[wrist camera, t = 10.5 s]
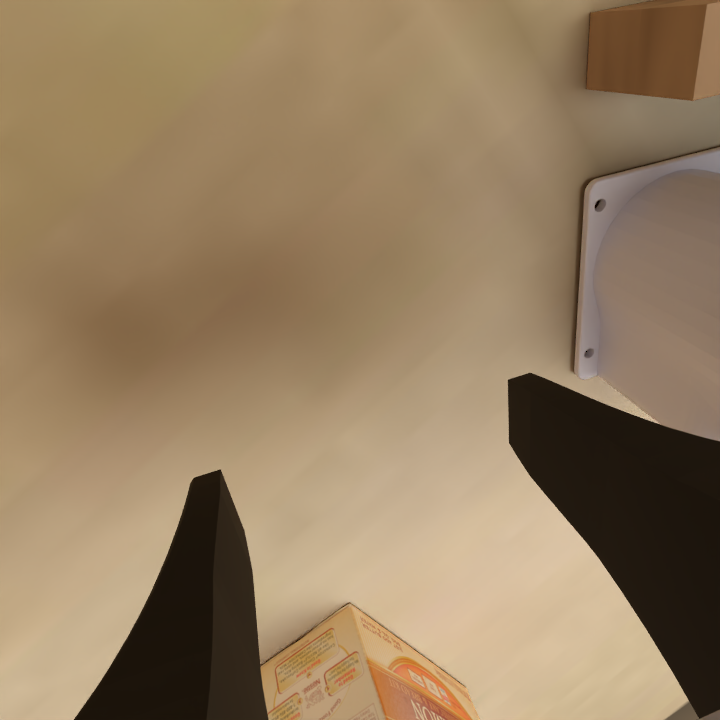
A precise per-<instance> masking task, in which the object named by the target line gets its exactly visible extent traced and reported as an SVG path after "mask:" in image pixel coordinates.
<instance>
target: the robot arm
mask: <svg viewBox="0 0 720 720" xmlns="http://www.w3.org/2000/svg"><path fill="white" fill-rule="evenodd" d="M598 200H600V202H599V205H598V206H597V208H594V206H595V203H596V202H597V201H598ZM587 350H588V351H587ZM586 351H587V352H586ZM585 352H586V353H585ZM574 373H575V375H576V376H577V377H579V378H580V379H582V380H585V379H589V378H592V377H595V376H599V377H600V378H602V379H603V380H604V381H605V382H607V383H608V384H609V385H611V386H612V387H613V388H614V389H616V390H617V391H618V392H620V393H621V394H622V395H623V396H625V397H626V398H627V399H629V400H630V401H631V402H633V403H634V404H635V405H636V406H638V407H639V408H640V409H642V410H643V411H644V412H645V413H647V414H648V415H649V416H651V417H652V418H653V419H654V420H656V421H657V422H658V423H660V424H661V425H660V424H657V423H654V422H651V421H648V420H645V419H643V418H640V417H637V416H634V415H631V414H629V413H626V412H624V411H621V410H618V409H616V408H613V407H611V406H608V405H606V404H603V403H601V402H599V401H596V400H594V399H591V398H589V397H587V396H584V395H582V394H580V393H577V392H575V391H573V390H570V389H568V388H566V387H563V386H561V385H559V384H557V383H554V382H552V381H550V380H547V379H545V378H542V377H540V376H537V375H535V374H532V373H528V374H525V375H522V376H518V377H515V378H512V379H509V380H508V407H509V444H510V445H511V447H512V448H513V450H514V452H515V453H516V455H517V457H518V458H519V460H520V461H521V463H522V464H523V466H524V467H525V469H526V470H527V472H528V473H529V475H530V476H531V478H532V479H533V480H534V481H535V482H536V484H537V485H538V486H539V487H540V488H541V490H542V491H543V492H544V493H545V494H546V496H547V497H548V498H549V499H550V500H551V501H552V503H553V504H554V505H555V506H556V507H557V509H558V510H559V511H560V512H561V513H562V514H563V516H564V517H565V518H566V519H567V520H568V521H569V523H570V524H571V525H572V526H573V527H574V528H575V530H576V531H577V532H578V533H579V534H580V535H581V537H582V538H583V539H584V540H585V541H586V542H587V544H588V545H589V546H590V548H591V549H592V550H593V551H594V553H595V554H596V555H597V557H598V558H599V559H600V561H601V562H602V564H603V565H604V566H605V568H606V569H607V571H608V572H609V574H610V575H611V577H612V578H613V580H614V581H615V582H616V584H617V585H618V587H619V588H620V590H621V591H622V593H623V594H624V596H625V597H626V599H627V600H628V602H629V603H630V605H631V606H632V608H633V609H634V611H635V613H636V614H637V616H638V617H639V619H640V620H641V622H642V623H643V625H644V626H645V628H646V629H647V631H648V633H649V634H650V636H651V638H652V639H653V641H654V642H655V644H656V646H657V647H658V649H659V651H660V652H661V654H662V656H663V657H664V659H665V660H666V662H667V664H668V665H669V667H670V669H671V670H672V672H673V674H674V675H675V677H676V679H677V681H678V682H679V684H680V686H681V688H682V689H683V691H684V693H685V694H686V696H687V698H688V700H689V701H690V703H691V705H692V707H693V708H694V710H695V712H696V714H697V715H698V717H699V719H698V720H720V147H718V148H714V149H710V150H706V151H702V152H698V153H694V154H690V155H686V156H682V157H678V158H674V159H670V160H667V161H663V162H659V163H655V164H651V165H647V166H643V167H639V168H635V169H631V170H627V171H623V172H619V173H615V174H611V175H607V176H603V177H600V178H596V179H594V180H592V181H591V182H590V183H589V184H588V185H587V187H586V189H585V194H584V211H583V228H582V245H581V262H580V280H579V297H578V314H577V331H576V348H575V365H574ZM74 720H269V719H268V714H267V708H266V702H265V697H264V691H263V685H262V677H261V669H260V658H259V645H258V633H257V620H256V608H255V596H254V584H253V572H252V567H251V561H250V556H249V551H248V546H247V541H246V537H245V532H244V529H243V526H242V524H241V521H240V518H239V516H238V513H237V511H236V508H235V505H234V503H233V500H232V498H231V495H230V492H229V490H228V487H227V485H226V482H225V480H224V477H223V474H222V472H221V470H217V471H214V472H211V473H208V474H205V475H201V476H198V477H195V478H194V479H193V480H192V482H191V483H190V487H189V491H188V495H187V498H186V502H185V505H184V509H183V512H182V515H181V518H180V521H179V524H178V527H177V530H176V532H175V535H174V538H173V541H172V543H171V546H170V549H169V551H168V554H167V556H166V559H165V561H164V564H163V566H162V568H161V571H160V573H159V575H158V577H157V580H156V582H155V584H154V586H153V589H152V591H151V593H150V595H149V597H148V599H147V601H146V603H145V605H144V607H143V609H142V611H141V613H140V615H139V617H138V619H137V621H136V623H135V625H134V626H133V628H132V630H131V632H130V634H129V636H128V637H127V639H126V641H125V642H124V644H123V646H122V647H121V649H120V651H119V653H118V654H117V656H116V658H115V659H114V661H113V663H112V664H111V666H110V668H109V669H108V671H107V672H106V674H105V675H104V677H103V678H102V680H101V682H100V683H99V685H98V686H97V688H96V689H95V691H94V692H93V693H92V695H91V696H90V698H89V699H88V700H87V702H86V703H85V705H84V706H83V708H82V709H81V710H80V712H79V713H78V715H77V716H76V717H75V719H74Z"/></svg>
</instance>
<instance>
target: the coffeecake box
mask: <svg viewBox="0 0 720 720" xmlns="http://www.w3.org/2000/svg"><path fill="white" fill-rule="evenodd" d="M260 669H261V677H262V685H263V691H264V697H265V702H266V708H267V714H268V719H269V720H480V718H479V716H478V714H477V712H476V710H475V707H474V705H473V703H472V701H471V698H470V696H469V694H468V689H467V688H465V687H464V686H463V685H462V684H460V683H459V682H457V681H456V680H455V679H453V678H452V677H451V676H449V675H448V674H447V673H445V672H444V671H442V670H441V669H440V668H438V667H437V666H436V665H434V664H433V663H432V662H430V661H429V660H427V659H426V658H425V657H423V656H422V655H421V654H419V653H418V652H416V651H415V650H414V649H412V648H411V647H410V646H408V645H407V644H405V643H404V642H403V641H401V640H400V639H398V638H397V637H396V636H394V635H393V634H391V633H390V632H389V631H387V630H386V629H385V628H383V627H382V626H380V625H379V624H378V623H376V622H375V621H374V620H372V619H371V618H370V617H368V616H367V615H365V614H364V613H363V612H361V611H360V610H359V609H357V608H356V607H354V606H353V605H352V604H348V605H346V606H344V607H343V608H341V609H340V610H338V611H337V612H335V613H334V614H333V615H331V616H330V617H329V618H327V619H326V620H325V621H323V622H322V623H320V624H319V625H318V626H317V627H316V628H314V629H313V630H312V631H311V632H309V633H308V634H307V635H306V636H304V637H303V638H302V639H300V640H299V641H297V642H296V643H294V644H293V645H291V646H289V647H288V648H286V649H285V650H283V651H282V652H280V653H279V654H278V655H276V656H275V657H273V658H272V659H270V660H269V661H268V662H266V663H265V664H264V665H262V666H261V667H260Z"/></svg>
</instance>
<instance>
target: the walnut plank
mask: <svg viewBox="0 0 720 720" xmlns="http://www.w3.org/2000/svg"><path fill="white" fill-rule="evenodd" d="M586 89H590V90H599V91H609V92H618V93H627V94H636V95H645V96H654V97H664V98H673V99H682V100H691V101H694V100H698V99H702V98H706V97H711V96H715V95H719V94H720V0H653V1H648V2H643V3H638V4H633V5H628V6H622V7H617V8H612V9H607V10H602V11H597V12H592V13H590V31H589V49H588V68H587V86H586Z"/></svg>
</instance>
